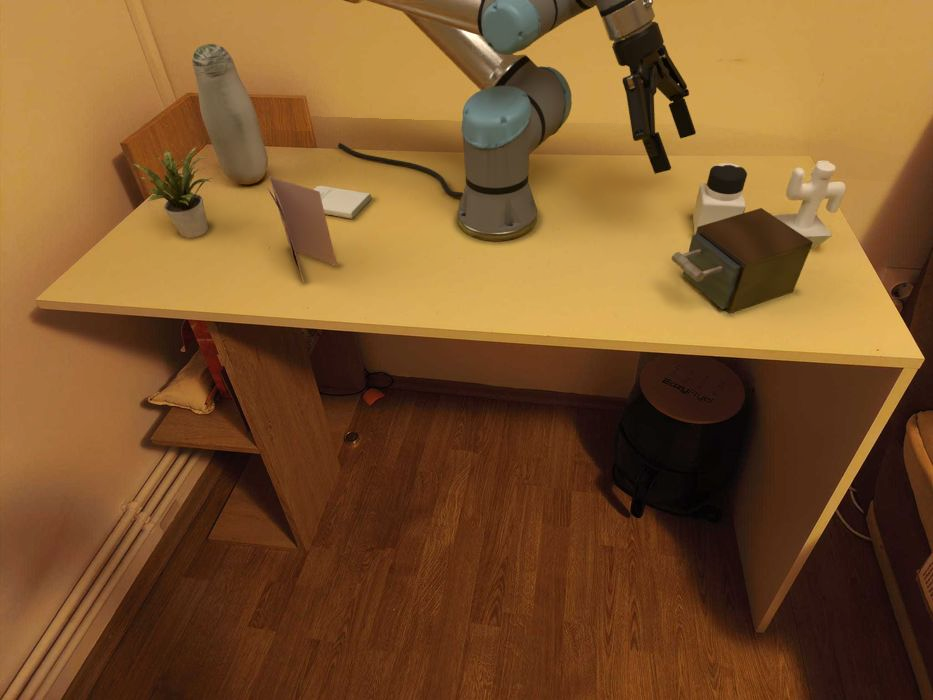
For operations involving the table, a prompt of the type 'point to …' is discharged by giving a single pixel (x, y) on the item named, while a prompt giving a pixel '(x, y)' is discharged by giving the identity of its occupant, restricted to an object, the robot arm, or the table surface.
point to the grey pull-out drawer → (709, 270)
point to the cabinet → (759, 255)
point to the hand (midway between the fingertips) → (676, 152)
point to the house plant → (180, 195)
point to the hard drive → (342, 201)
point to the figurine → (813, 201)
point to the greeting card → (303, 221)
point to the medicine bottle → (720, 195)
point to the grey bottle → (229, 116)
